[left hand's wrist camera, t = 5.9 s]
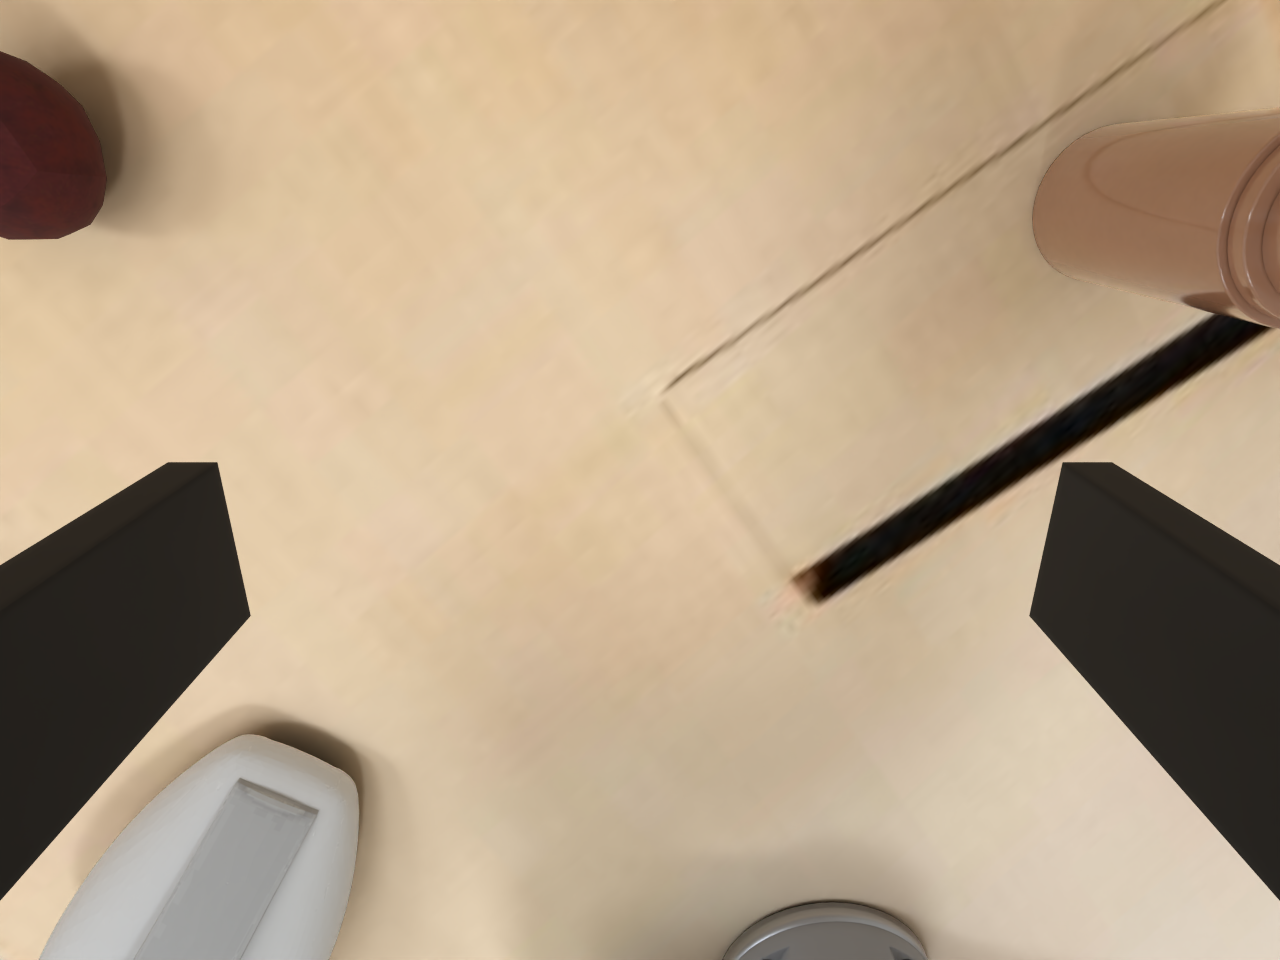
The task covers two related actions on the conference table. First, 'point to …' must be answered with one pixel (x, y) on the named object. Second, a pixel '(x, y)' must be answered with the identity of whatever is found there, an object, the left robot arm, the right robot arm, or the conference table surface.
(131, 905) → the projector
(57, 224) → the dark red round piece
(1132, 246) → the bottle
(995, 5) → the conference table surface
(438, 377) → the conference table surface
